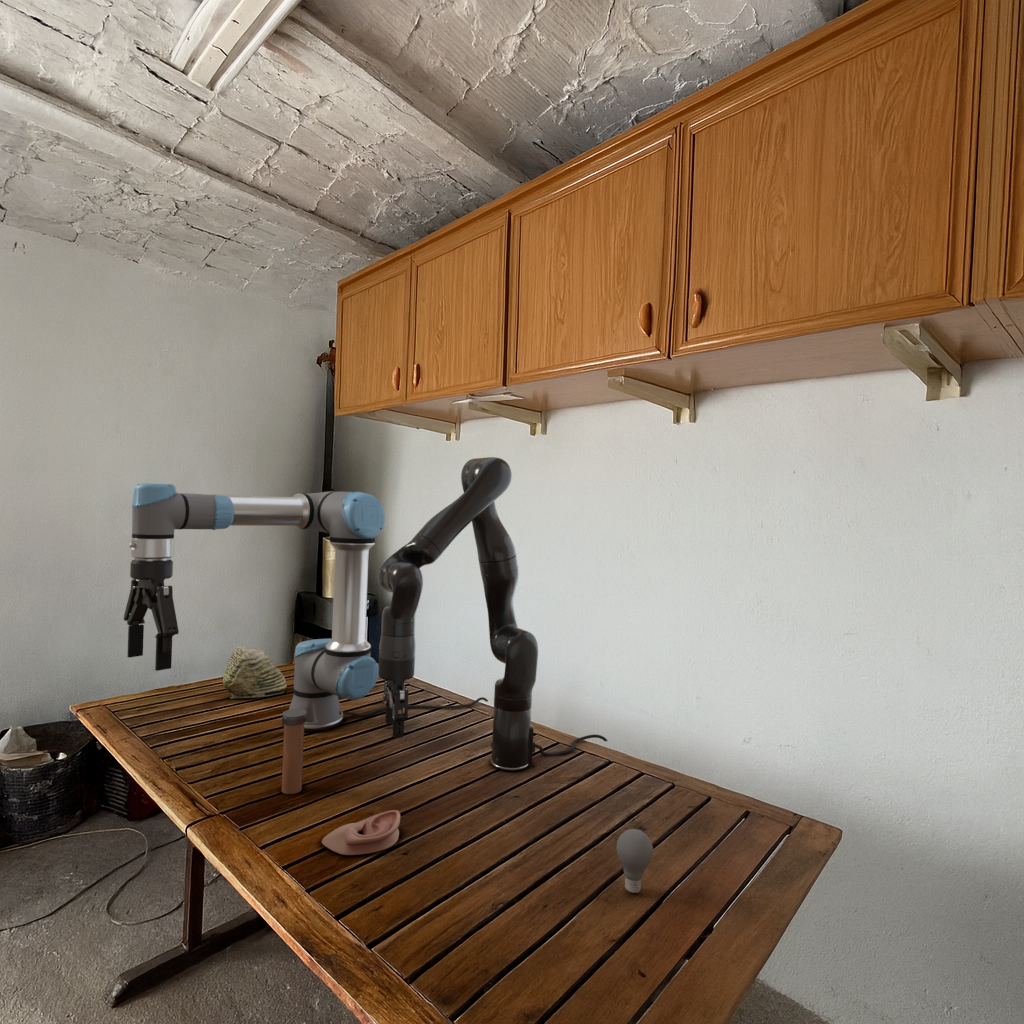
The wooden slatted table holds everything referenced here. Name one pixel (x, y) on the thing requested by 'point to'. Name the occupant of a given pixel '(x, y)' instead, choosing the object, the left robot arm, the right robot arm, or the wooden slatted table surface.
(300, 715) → the lid
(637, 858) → the light bulb
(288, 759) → the brown cylindrical rod
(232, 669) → the fossil
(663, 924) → the wooden slatted table surface
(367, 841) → the anatomical model
